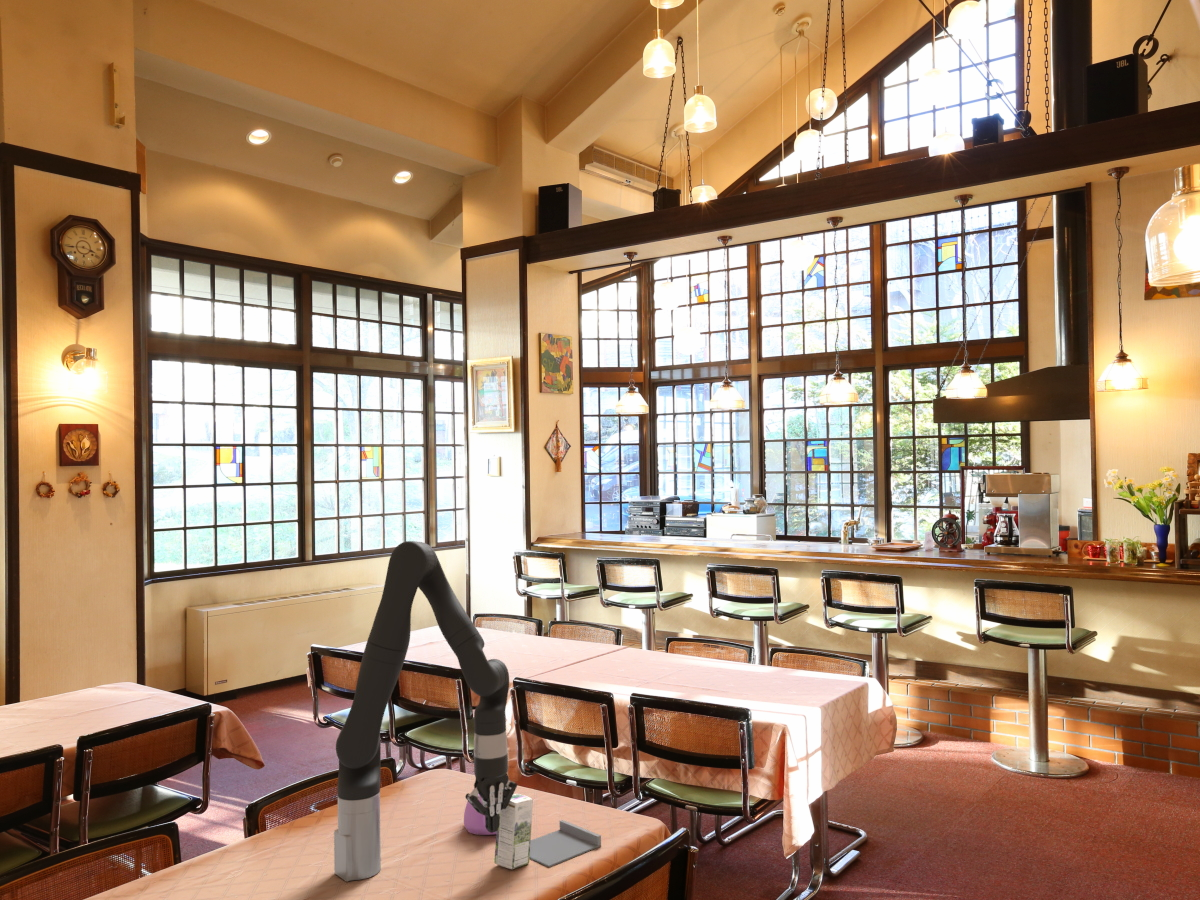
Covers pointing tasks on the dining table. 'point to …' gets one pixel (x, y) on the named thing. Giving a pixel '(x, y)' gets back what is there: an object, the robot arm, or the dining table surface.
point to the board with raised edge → (563, 844)
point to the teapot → (475, 820)
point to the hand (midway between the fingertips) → (492, 830)
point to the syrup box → (514, 833)
